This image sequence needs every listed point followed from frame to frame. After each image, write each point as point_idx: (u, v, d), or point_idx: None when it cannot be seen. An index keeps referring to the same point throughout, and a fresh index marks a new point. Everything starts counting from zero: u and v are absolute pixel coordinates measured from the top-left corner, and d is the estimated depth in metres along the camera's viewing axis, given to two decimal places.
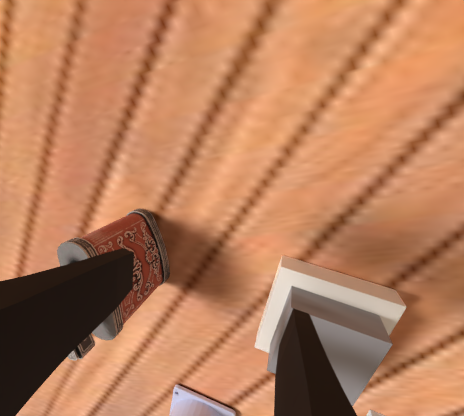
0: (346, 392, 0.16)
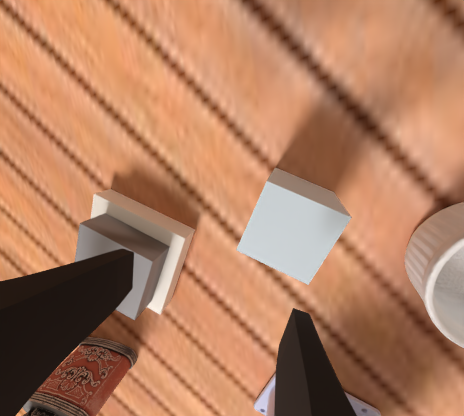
0: (138, 264, 0.17)
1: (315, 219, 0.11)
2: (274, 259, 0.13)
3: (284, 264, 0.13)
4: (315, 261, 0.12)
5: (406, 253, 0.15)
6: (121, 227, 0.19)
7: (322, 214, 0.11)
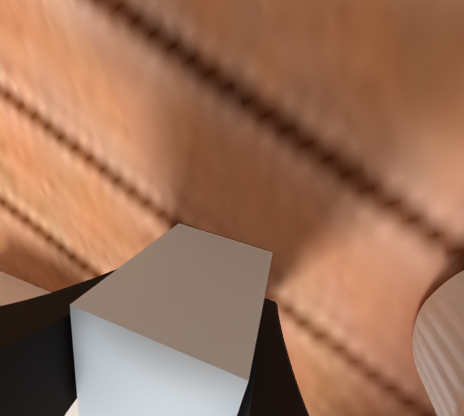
0: None
1: (180, 378, 0.05)
2: None
3: None
4: None
5: (413, 346, 0.09)
6: None
7: (189, 370, 0.05)
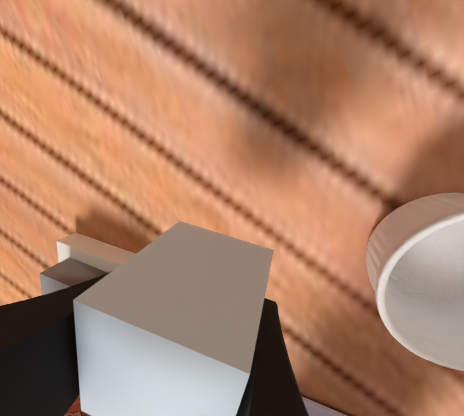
0: None
1: (182, 372, 0.05)
2: None
3: None
4: None
5: (366, 261, 0.14)
6: (83, 270, 0.19)
7: (191, 364, 0.05)
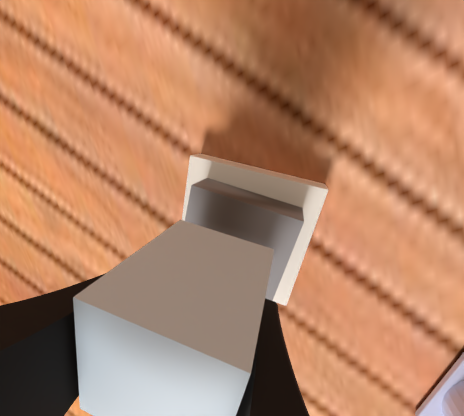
0: (280, 229, 0.12)
1: (182, 371, 0.05)
2: None
3: None
4: None
5: None
6: (236, 190, 0.14)
7: (192, 363, 0.05)
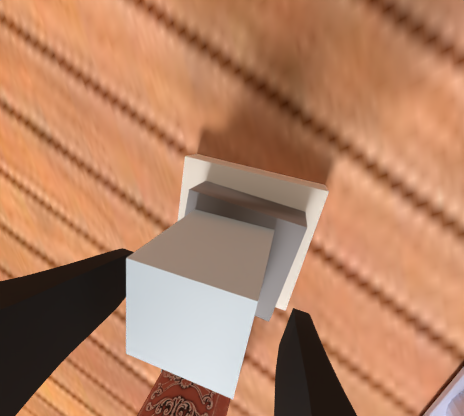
0: (282, 235, 0.12)
1: (208, 307, 0.07)
2: (176, 365, 0.08)
3: (191, 371, 0.08)
4: (230, 367, 0.08)
5: None
6: (236, 193, 0.13)
7: (215, 299, 0.07)
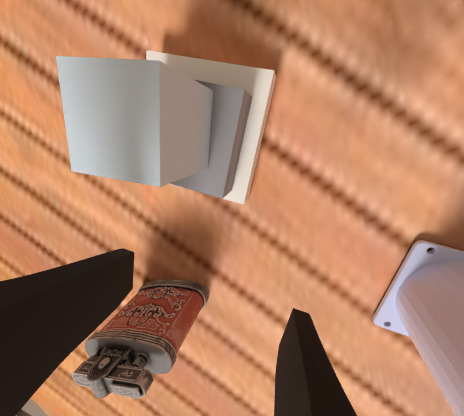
0: (224, 102, 0.13)
1: (125, 85, 0.08)
2: (111, 166, 0.09)
3: (123, 168, 0.09)
4: (152, 148, 0.09)
5: None
6: None
7: (128, 73, 0.08)
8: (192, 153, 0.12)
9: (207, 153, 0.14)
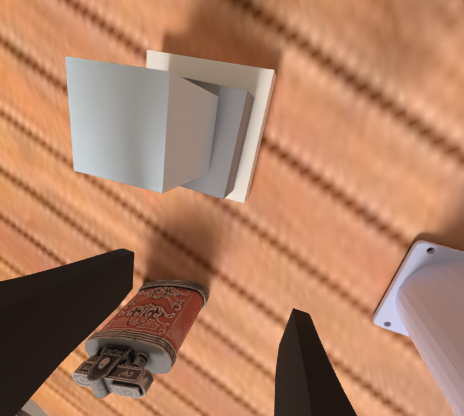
0: (227, 103, 0.13)
1: (133, 91, 0.08)
2: (114, 168, 0.10)
3: (127, 171, 0.09)
4: (156, 155, 0.09)
5: None
6: None
7: (138, 80, 0.08)
8: (195, 158, 0.12)
9: (209, 158, 0.14)
